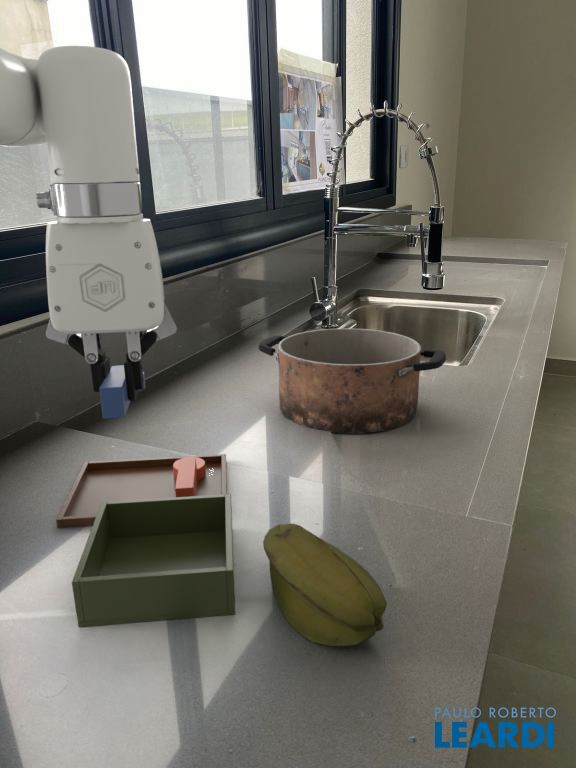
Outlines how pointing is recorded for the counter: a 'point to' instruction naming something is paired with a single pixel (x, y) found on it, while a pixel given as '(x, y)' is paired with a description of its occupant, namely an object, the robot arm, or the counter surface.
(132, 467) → the tray
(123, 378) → the blue block
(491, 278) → the counter surface
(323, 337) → the cooking pot
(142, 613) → the bin
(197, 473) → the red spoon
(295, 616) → the fruit
